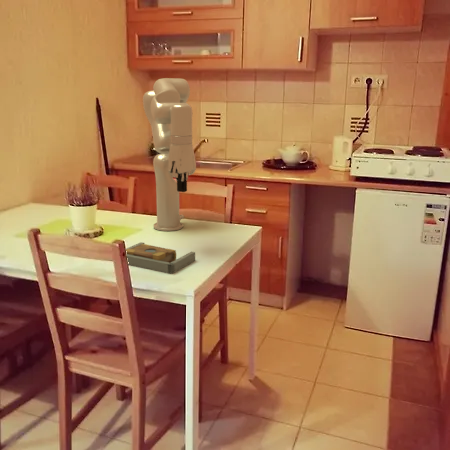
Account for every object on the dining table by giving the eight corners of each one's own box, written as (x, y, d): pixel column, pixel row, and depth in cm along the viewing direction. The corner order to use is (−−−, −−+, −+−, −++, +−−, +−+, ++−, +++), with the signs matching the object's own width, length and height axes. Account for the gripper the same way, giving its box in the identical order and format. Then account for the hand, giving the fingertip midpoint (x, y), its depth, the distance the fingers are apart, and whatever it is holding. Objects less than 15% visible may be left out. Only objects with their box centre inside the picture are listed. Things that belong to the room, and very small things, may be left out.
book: (124, 262, 166) (123, 248, 165) (144, 253, 175) (143, 240, 174) (158, 270, 159) (158, 255, 158) (178, 260, 169) (177, 246, 167)
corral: (141, 250, 178) (140, 242, 177) (195, 260, 168) (195, 252, 167) (115, 261, 165) (114, 253, 164) (171, 273, 155) (171, 264, 154)
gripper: (183, 137, 179) (184, 186, 184) (160, 141, 166) (161, 194, 171) (201, 139, 176) (201, 188, 181) (179, 143, 163) (179, 196, 168)
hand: (182, 191), depth 176 cm, fingers closed
